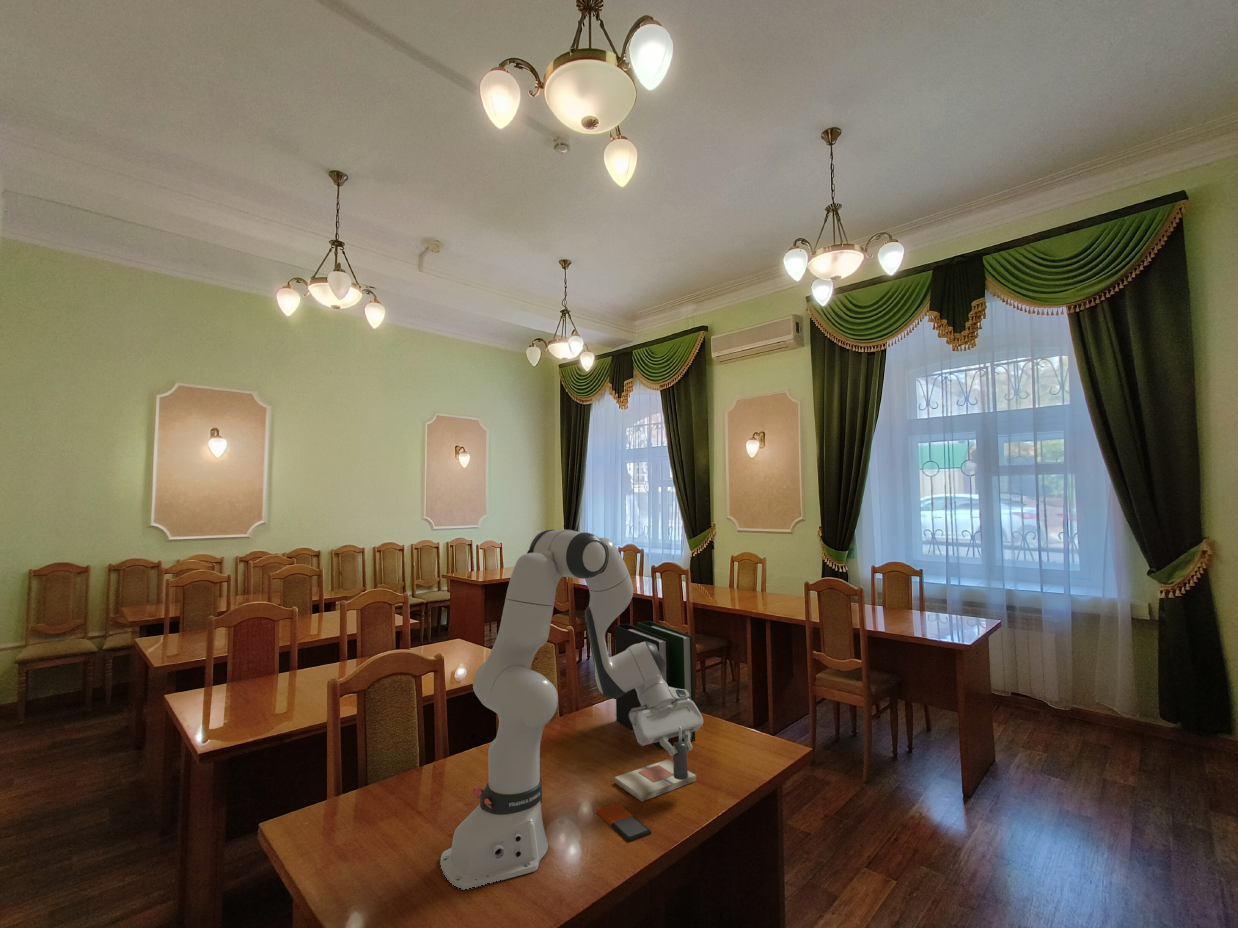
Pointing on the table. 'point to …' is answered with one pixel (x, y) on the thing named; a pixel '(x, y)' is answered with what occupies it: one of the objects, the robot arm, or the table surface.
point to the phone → (623, 822)
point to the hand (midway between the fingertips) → (682, 752)
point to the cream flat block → (652, 780)
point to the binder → (674, 653)
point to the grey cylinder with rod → (680, 758)
